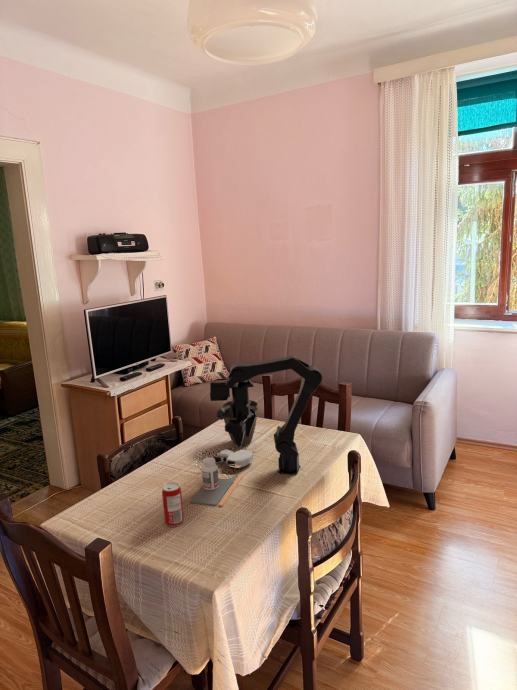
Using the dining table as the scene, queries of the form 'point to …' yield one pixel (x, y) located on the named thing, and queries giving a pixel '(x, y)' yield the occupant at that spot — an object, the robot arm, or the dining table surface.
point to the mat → (213, 493)
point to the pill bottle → (210, 474)
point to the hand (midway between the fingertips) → (243, 441)
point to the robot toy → (234, 457)
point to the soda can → (172, 504)
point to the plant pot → (246, 439)
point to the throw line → (230, 491)
